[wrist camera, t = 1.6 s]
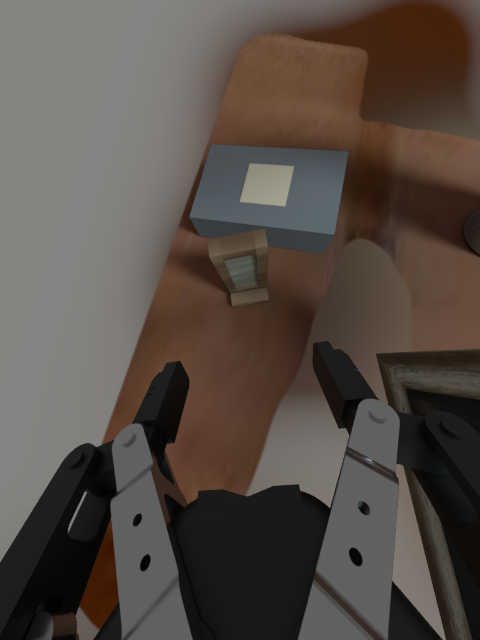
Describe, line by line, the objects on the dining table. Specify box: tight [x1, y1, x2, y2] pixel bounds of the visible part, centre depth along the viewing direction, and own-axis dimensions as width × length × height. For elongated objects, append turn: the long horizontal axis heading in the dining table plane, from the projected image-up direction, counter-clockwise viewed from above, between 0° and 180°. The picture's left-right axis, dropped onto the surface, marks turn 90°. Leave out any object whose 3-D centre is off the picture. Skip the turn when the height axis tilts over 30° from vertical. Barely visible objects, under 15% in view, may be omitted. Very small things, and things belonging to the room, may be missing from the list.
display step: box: [189, 144, 349, 253], centre depth 31 cm, size 22×14×5 cm, turn 77°
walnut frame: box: [208, 228, 269, 307], centre depth 25 cm, size 6×6×13 cm
